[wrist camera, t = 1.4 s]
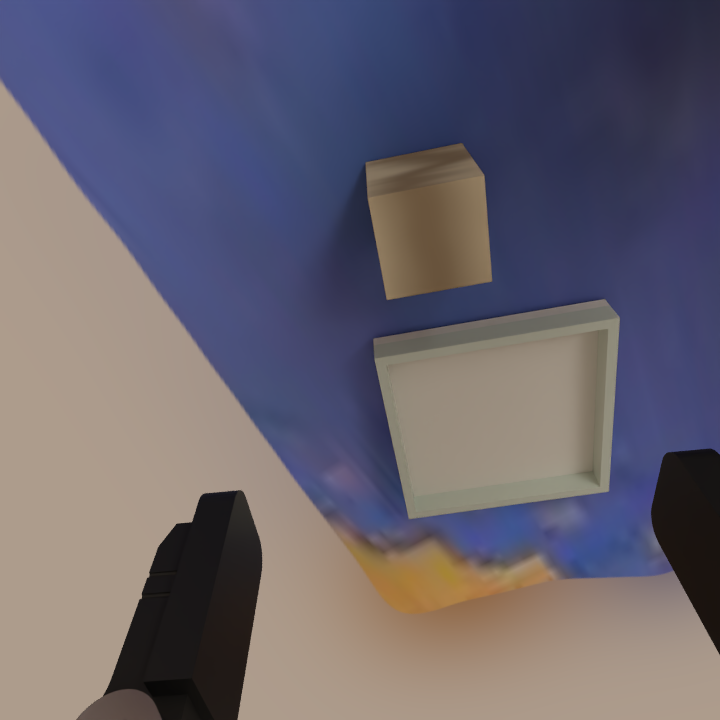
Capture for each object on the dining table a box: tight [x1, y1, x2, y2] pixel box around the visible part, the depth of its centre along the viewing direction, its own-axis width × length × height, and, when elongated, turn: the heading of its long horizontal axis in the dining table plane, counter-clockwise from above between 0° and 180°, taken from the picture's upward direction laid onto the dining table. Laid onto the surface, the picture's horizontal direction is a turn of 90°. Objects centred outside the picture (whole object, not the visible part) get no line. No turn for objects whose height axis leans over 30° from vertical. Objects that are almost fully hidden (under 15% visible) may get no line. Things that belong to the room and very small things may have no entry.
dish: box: [373, 299, 620, 519], centre depth 37 cm, size 14×14×2 cm
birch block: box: [366, 143, 492, 300], centre depth 28 cm, size 5×5×6 cm
